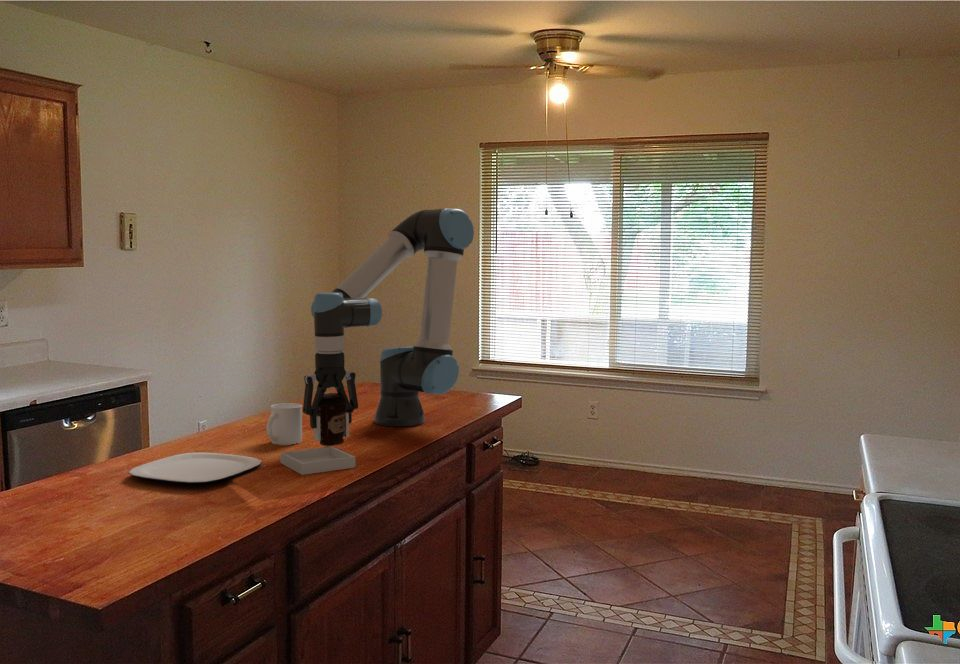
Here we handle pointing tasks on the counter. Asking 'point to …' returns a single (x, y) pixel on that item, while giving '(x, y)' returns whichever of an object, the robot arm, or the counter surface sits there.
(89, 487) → the counter surface
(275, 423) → the mug
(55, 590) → the counter surface
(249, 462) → the plate
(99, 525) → the counter surface
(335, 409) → the coffee cup
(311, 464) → the gray square tray
